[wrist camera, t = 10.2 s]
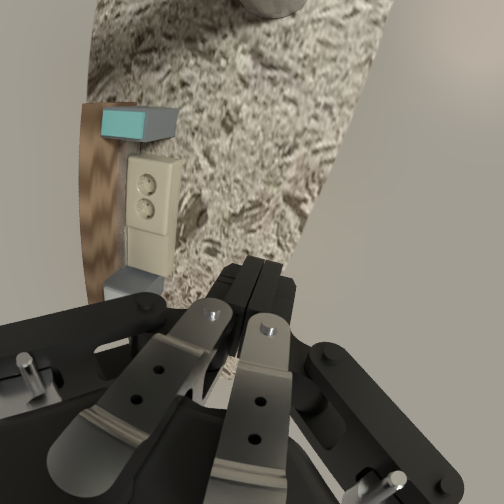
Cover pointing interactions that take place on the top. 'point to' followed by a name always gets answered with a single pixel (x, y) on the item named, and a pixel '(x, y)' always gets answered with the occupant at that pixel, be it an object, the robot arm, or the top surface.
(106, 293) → the block
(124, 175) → the metal rail
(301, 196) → the top surface
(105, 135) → the module
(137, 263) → the electrical outlet
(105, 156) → the mounting panel
